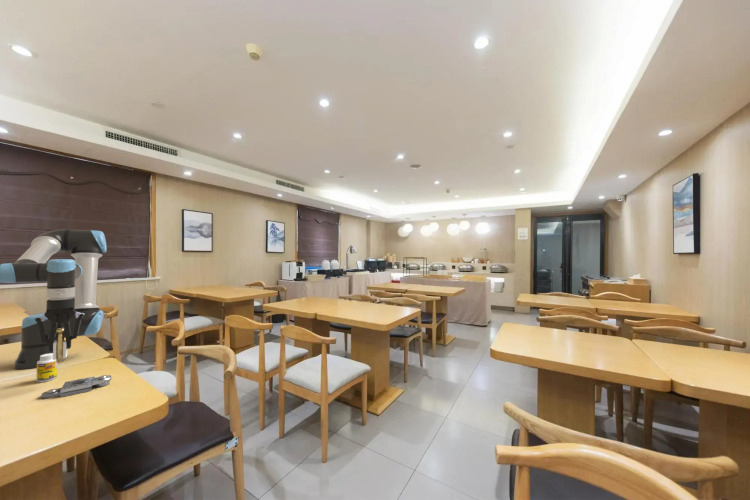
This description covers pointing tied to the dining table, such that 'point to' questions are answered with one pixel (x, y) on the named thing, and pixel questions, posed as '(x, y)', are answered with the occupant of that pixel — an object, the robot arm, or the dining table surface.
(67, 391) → the grey metal link plate
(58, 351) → the pin
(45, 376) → the supplement bottle
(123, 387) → the dining table surface
